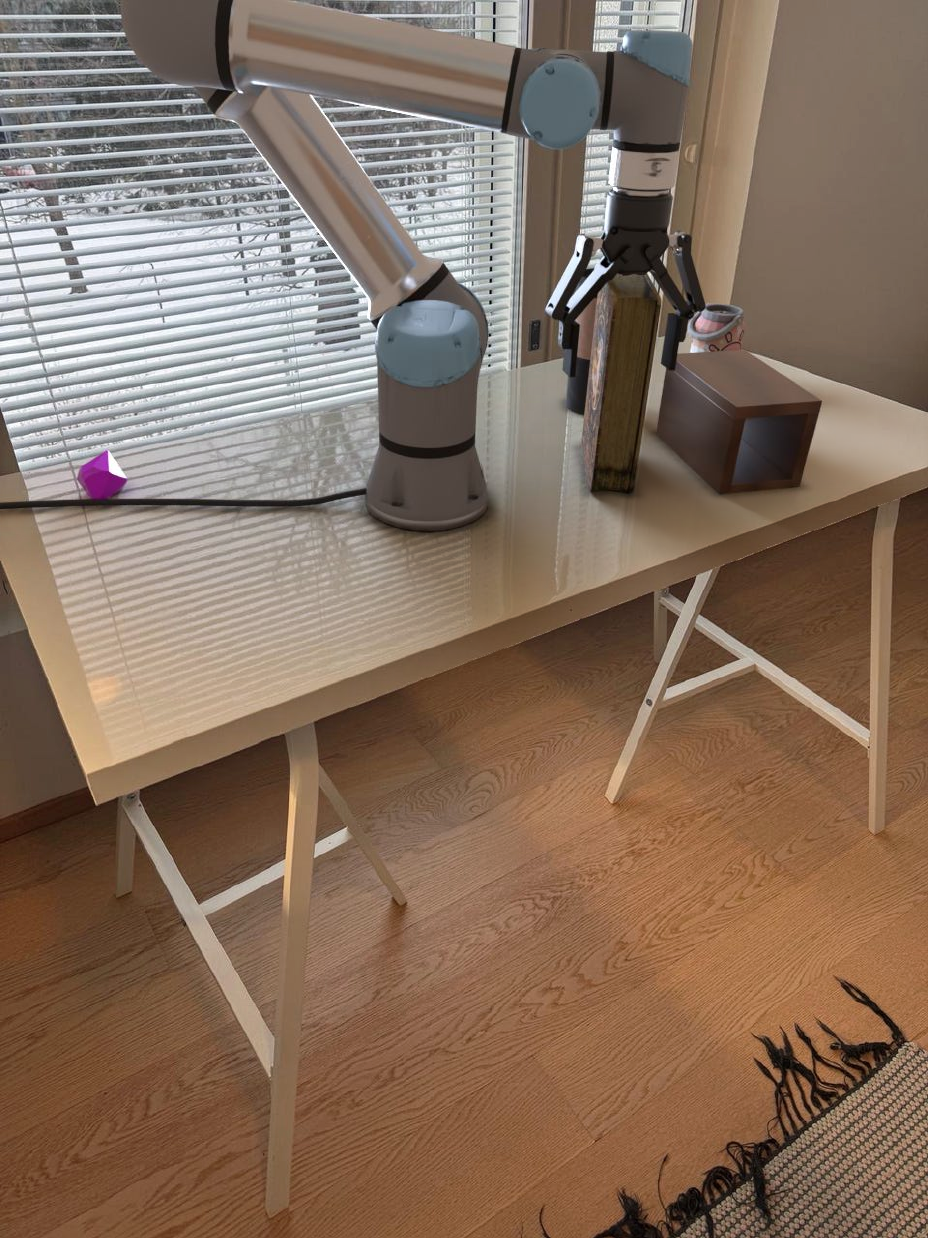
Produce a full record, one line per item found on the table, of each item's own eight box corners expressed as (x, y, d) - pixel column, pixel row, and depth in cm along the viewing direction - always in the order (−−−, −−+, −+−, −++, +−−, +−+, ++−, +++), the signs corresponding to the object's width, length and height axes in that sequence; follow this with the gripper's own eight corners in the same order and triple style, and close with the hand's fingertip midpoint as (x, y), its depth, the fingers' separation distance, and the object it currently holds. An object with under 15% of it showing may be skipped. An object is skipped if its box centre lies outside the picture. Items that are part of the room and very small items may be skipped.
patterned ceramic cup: (702, 394, 150) (716, 320, 144) (669, 377, 156) (681, 305, 150) (745, 385, 154) (760, 313, 147) (711, 369, 160) (724, 299, 153)
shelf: (718, 494, 120) (736, 406, 114) (655, 433, 136) (668, 353, 129) (800, 486, 123) (822, 400, 116) (728, 428, 139) (744, 349, 132)
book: (579, 443, 132) (599, 262, 118) (617, 445, 132) (642, 264, 118) (590, 495, 119) (614, 298, 105) (632, 497, 119) (662, 299, 105)
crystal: (77, 491, 116) (69, 457, 113) (119, 481, 118) (113, 447, 116) (92, 507, 112) (84, 473, 110) (135, 496, 115) (129, 462, 113)
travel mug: (559, 411, 142) (572, 277, 131) (569, 394, 148) (582, 265, 137) (608, 418, 141) (625, 283, 129) (616, 401, 147) (633, 270, 135)
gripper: (548, 198, 100) (535, 386, 112) (754, 193, 106) (721, 373, 118) (527, 185, 106) (517, 366, 118) (723, 181, 111) (694, 354, 124)
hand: (618, 370), depth 118 cm, fingers open, 13 cm apart
